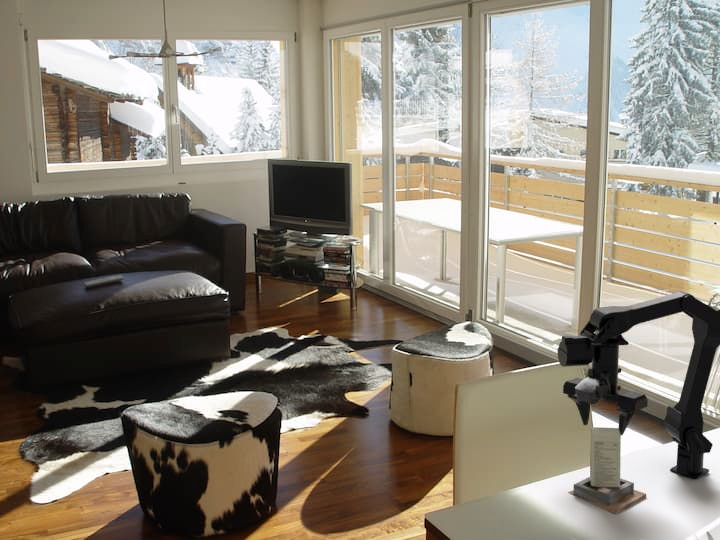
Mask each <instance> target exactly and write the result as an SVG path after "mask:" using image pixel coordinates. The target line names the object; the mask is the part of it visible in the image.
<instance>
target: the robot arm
mask: <svg viewBox="0 0 720 540" xmlns="http://www.w3.org/2000/svg"><path fill="white" fill-rule="evenodd" d="M681 313H684V314H685V315H686V316H687V317H689V318H692V324H691V331H692V336H693V341H694V342H693V346H692V350H691V354H690V358H689V362H688V367H687V370H686V374H685V377H684V381H683V386H682V389H681V393H680V396H679V397H680V398H679V400H678V402H677V403H676V404H675V405H674V406H671V405H668V406H667V408H666V414H665V415H666V416H665V417H664V419H663V421H662V422H664V424H665V425H664V427H665V430H666V432H667V433H668V435H670V437H671V440H672V441H673V442H675V443H676V444H677V449H676V450H677V452H676V453H677V454H676V465H675V466H672V467H671V468H670V469H669V470H670V471H669V472H673V473H676V474H679V475H680V476H681V475H682V476H684V477H688V478H692V479H696V480H697V479H699V478H701V477H703V476H704V475H707V473H709V472H710V469H708V468H705V467H704V454H708V453H710V452H711V450H712V448H713V446H714V445H713V443H712V442H711V441H710V440H709V439H708V438H707V437H706V436H705V435H704V434H703V432H704V425H705V424H704V417H703V410H702V405H703V402H704V398H705V395H706V392H707V391H706V390H707V386H708V383H709V379H710V376H711V375H710V374H711V371H712V367H713V363H714V360H715V355H716V353H717V349H718V347H719V346H720V308H717V307H715V306H712V305H709V304H706V303H705V302H702V301H700V300H699V299H698V298H696V297H695V296H694V295H693V294H691V293H688V292H685V291H681V290H680V291H679V290H678V291H676V292H674V293H671V294H668V295H663V296H660V297H656V298H653V299H650V300H649V299H648V300H645V301H641V302H638V303H635V304H630V305H625V306H624V305H620V306H619V305H617V306H616V305H615V306H614V305H610V306H609V305H608V306H600V307H596V308H594V309H593V310H592V312H591V315H590V317H589V320H588V321H587V323H586V324H585V325H584V327H583V328H582V330H581V331H580V332H579V335H562V336H561V340H560V342H559V344H558V347H557V359H558V363H559V365H560V366H561V367H577V366H578V367H581V366H582V367H583V366H588V365H589V364H591V367H588V369H587V374H586V375H587V376H586V377H585V378H580V377H575V378H571V379H568V380H565V382H564V383H563V385H562V393H563V395H567V397H568V398H569V399H571V400H572V401H573V402H574V403H575V404H576V407H577V411H578V412H579V416H580V418H581V421H582V424H583V426H588V424H589V420H590V412H591V405H595V404H597V403H598V402H599V400H603V401H605V400H611V401H615V402H617V405H618V407H619V408H616V411H617V413H618V415H619V416H618V428H619V430H620V434H621V436H623V435H624V433H625V432H626V429H627V428H628V425H629V423H630V421H631V420H632V418H633V416H634V415H635V414H636V412H638V411H639V410H642V409H644V408H647V407H648V406H649V405H648V402H649V401H648V400H649V399H648V398H647V396H646V394H644V393H641V392H639V391H638V392H637V391H633V390H630V391H628V392H625V393H620V392H618V391H621V388H622V386H621V385H620V384H618V380H619V374H620V373H621V372H622V367H620V366H619V357H620V356H619V355H620V353H619V352H620V346H628V345H629V341H627V340H626V338H624V336H623V334H625V333H627V332H629V331H630V330H631V329H632V328H633V327H635V326H638V325H639V324H643V323H647V322H651V321H654V320H655V321H656V320H658V319H662V318H665V317H669V316H673V315H675V314H681ZM595 332H597V334H596V333H595Z"/></svg>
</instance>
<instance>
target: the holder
mask: <svg viewBox="0 0 720 540" xmlns="http://www.w3.org/2000/svg"><path fill="white" fill-rule="evenodd" d="M567 493H568V494H570V495H572V496H575V497H577V498H578V499H581V500H583V501H585V502H587V503H588V504H592V505H594V506H596V507H598V508H600V509H603V510H604V511H607V512H610V513H611V514H614V515H616V514H619V513H620V512H622V511H624V510H626V509H628V508H629V507H631V506H633V505H635V504H636V503H639V502H640V501H642V500H643V499H645V498H646V497H647V493H645V492H642V491H639V490H636V489H635V483H634V482H632V481H629V480H627V479H623V478H621V477H620V487H598V486H591V482H590V476H588V477H585V478H584V479H582V480H580V481H578V482H575V483H573V490H570V491H568V492H567Z"/></svg>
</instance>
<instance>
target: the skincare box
mask: <svg viewBox="0 0 720 540" xmlns="http://www.w3.org/2000/svg"><path fill="white" fill-rule="evenodd" d="M621 437H622V435H621V434H620V430H619V427H595V426H593V427H592V426H591V427H590V437H589V438H590V441H589V443H590V444H589V446H590V449H589V450H590V452H589V453H590V457H589V459H590V460H589V461H590V462H589V463H590V464H589V465H590V466H589V469H590V470H589V472H590V473H589V477H590V482H591V486H598V487H620V478H621V452H622V451H621V450H622V449H621V448H622V447H621V445H622V444H621V443H622V442H621V439H622V438H621Z"/></svg>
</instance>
